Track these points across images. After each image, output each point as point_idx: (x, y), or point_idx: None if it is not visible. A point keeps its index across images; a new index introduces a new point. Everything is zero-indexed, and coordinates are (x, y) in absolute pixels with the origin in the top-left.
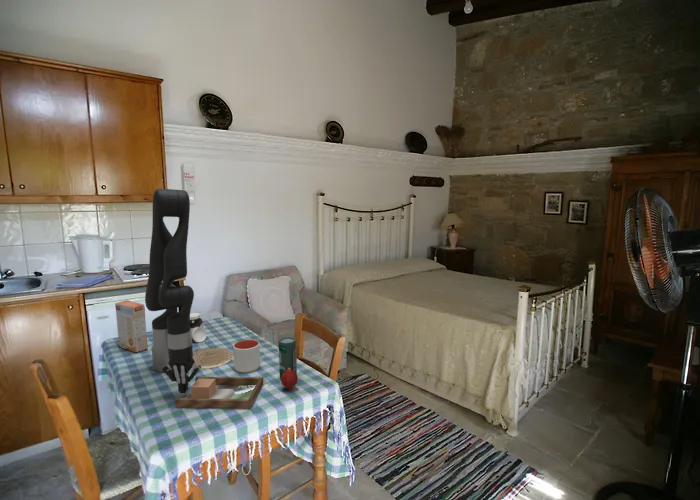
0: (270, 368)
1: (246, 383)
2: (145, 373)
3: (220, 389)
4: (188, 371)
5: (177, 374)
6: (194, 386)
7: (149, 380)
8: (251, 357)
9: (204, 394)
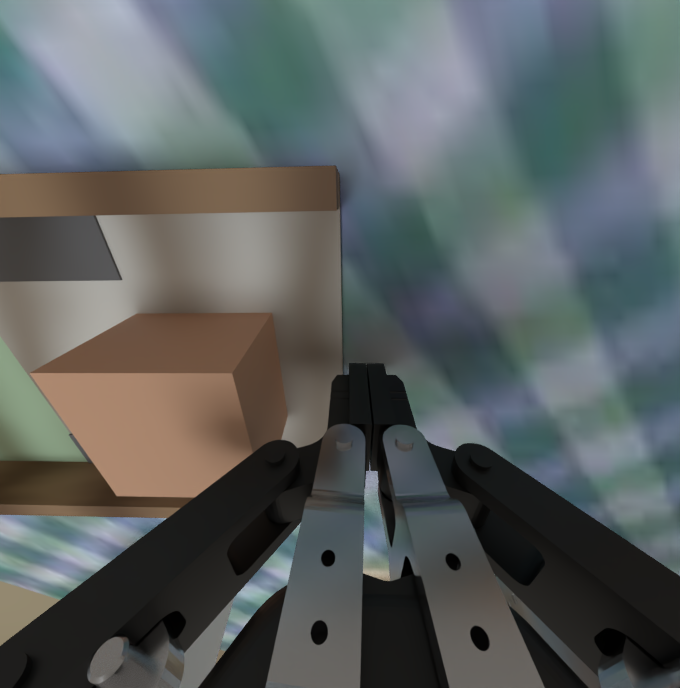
0: (87, 562)
1: (36, 472)
2: (660, 543)
3: None
4: (251, 620)
5: (435, 558)
6: (199, 385)
7: (634, 498)
8: None
9: (140, 333)
